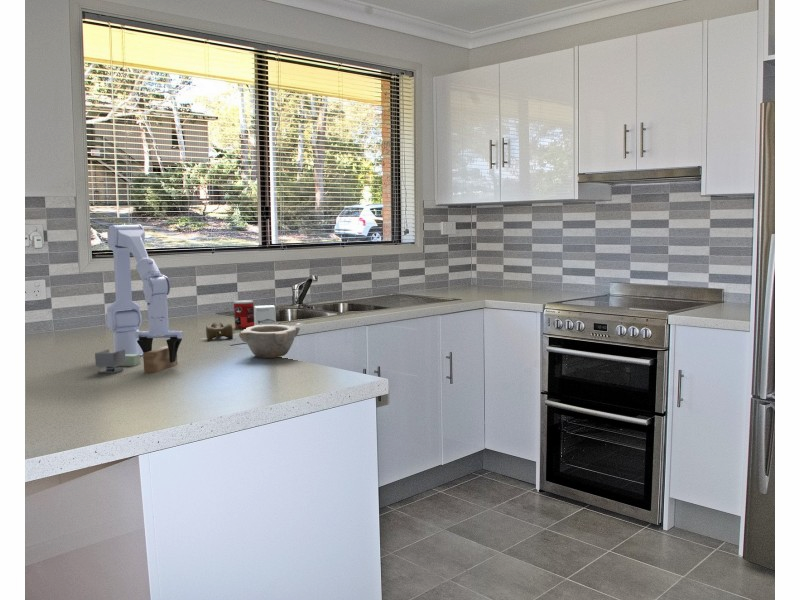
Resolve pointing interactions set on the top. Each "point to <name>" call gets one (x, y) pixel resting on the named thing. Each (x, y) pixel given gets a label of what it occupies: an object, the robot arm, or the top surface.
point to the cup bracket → (110, 361)
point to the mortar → (269, 339)
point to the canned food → (244, 313)
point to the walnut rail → (157, 360)
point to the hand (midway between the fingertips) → (161, 361)
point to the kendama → (219, 331)
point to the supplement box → (265, 315)
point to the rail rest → (131, 360)
